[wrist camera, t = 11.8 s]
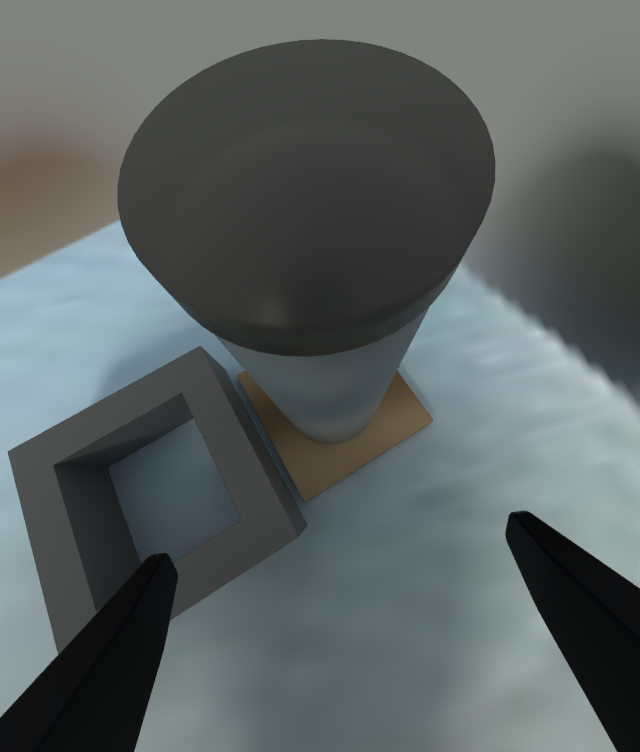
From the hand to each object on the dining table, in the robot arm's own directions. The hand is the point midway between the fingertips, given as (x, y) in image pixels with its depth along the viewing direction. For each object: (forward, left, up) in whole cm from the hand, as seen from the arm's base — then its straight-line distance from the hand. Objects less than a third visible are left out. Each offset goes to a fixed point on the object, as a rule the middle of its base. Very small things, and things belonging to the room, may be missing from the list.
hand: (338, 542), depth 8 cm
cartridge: (+5, -3, -8) cm, 10 cm away
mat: (+5, -3, -8) cm, 10 cm away
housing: (+5, +7, -8) cm, 12 cm away
